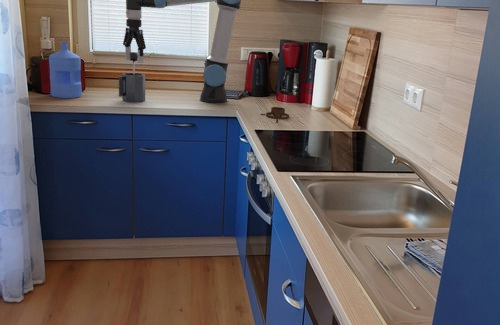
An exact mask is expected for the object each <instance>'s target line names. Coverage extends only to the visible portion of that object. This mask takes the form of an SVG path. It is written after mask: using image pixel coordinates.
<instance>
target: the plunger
mask: <svg viewBox="0 0 500 325" xmlns="http://www.w3.org/2000/svg"><path fill="white" fill-rule="evenodd" d="M129 61H130V62H131V61H132V73H133V76H135V73H136V62H138V51H137V52H135V51H133V52H132V51H131V52H130V60H129Z"/></svg>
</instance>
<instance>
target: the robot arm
mask: <svg viewBox="0 0 500 325" xmlns="http://www.w3.org/2000/svg"><path fill="white" fill-rule="evenodd" d="M213 2H214V3H216V4H217V5H216V6H217V7H218V13H217V18H216V23H215V28H214V34H213V39H212V42H211V43H212V44H211V50H210V54H209V56H208V57H207V58H206V59H204V62H203V64H204V69H203V70H204V71H203V73H202V76H203V87H202V90H201V93H200V96H199V98H200V99H199V101H201V102H205V103H213V104H221V103H222V104H223V103H226V102H228V97H227V96H228V95H227V92H226V89H225V85H226V79H227V71H228V67H229V61H228V59H227V57H228V52H229V48H230V42H231V37H232V32H233V28H234V27H233V26H234V23H235V18H236V13H237V12H238V11H240V8H241V3H242V0H125V14H126V15H125V16H126V17H125V18H126V20H125V21H126V25H125V26H126V27H125V34H124V37H123V42H122V44H123V46H124V48H125V51H124V52H125V60H126V61H128V60H129V61H130V52H132V46H131V45H132V42H133V39H134V40H135V42H136V43H135V44H136V46H137V53H138V61H137V63H139V64H144V50H146V49H147V47H146V42H145V39H144V38H145V37H144V33H143V32H144V30H143V29H140V28H141V27H142V24H143V23H142V8H150V9H151V8H153V9H165V8H167V7H174V6H185V5H186V6H187V5H194V4H203V3H205V4H206V3H213Z"/></svg>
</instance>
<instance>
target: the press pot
mask: <svg viewBox="0 0 500 325" xmlns="http://www.w3.org/2000/svg"><path fill="white" fill-rule="evenodd" d="M118 96H119V97H121V98H122V102H125V103H131V104H132V103H133V104H139V103H144V102H146V74H144V73H139V72H135V76H133V72H124V73H122V74H121V76H118Z"/></svg>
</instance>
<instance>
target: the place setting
mask: <svg viewBox="0 0 500 325" xmlns="http://www.w3.org/2000/svg"><path fill="white" fill-rule="evenodd" d="M270 108H271V109H270V111H268V112H266V113H260V116H266V117H267V118H269V119H275V124H278V123H279V120H286V119H287V120H288V119H289V118H290V114H288V113H286V108H284V107H280V106H272V107H270Z"/></svg>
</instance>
